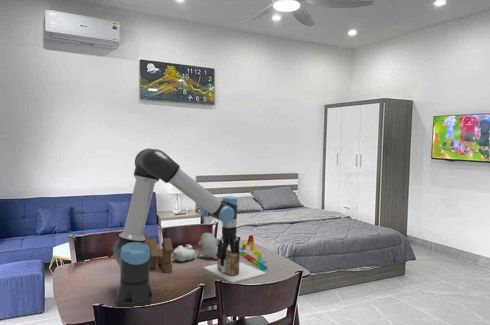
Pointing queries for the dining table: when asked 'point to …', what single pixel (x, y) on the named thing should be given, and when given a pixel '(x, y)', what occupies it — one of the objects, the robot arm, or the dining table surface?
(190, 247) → the cat figurine
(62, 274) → the dining table surface
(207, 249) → the toy
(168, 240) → the building blocks
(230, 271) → the slab
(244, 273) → the mat
